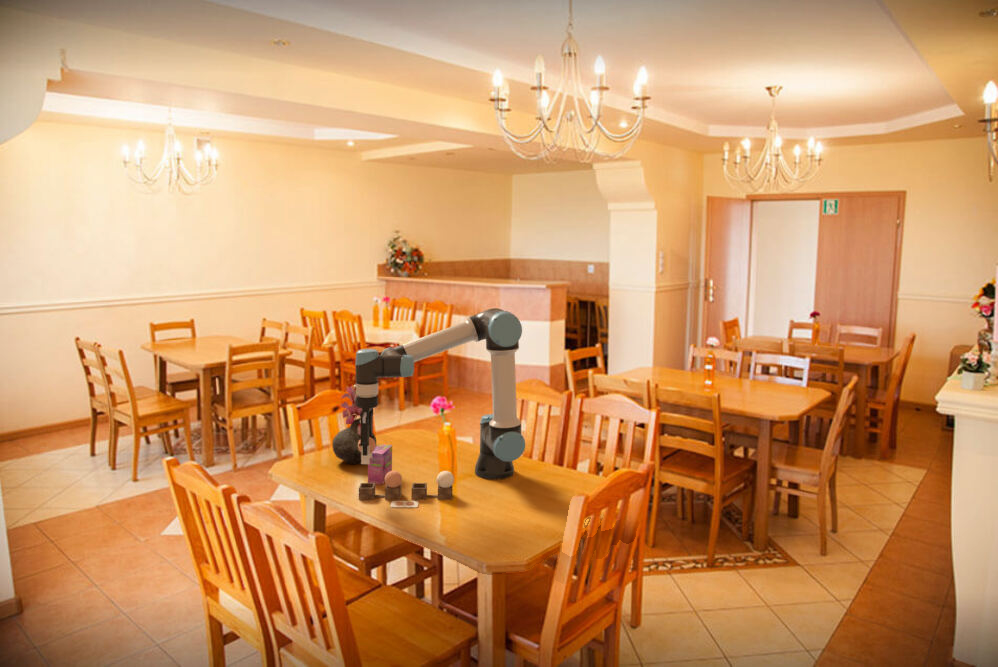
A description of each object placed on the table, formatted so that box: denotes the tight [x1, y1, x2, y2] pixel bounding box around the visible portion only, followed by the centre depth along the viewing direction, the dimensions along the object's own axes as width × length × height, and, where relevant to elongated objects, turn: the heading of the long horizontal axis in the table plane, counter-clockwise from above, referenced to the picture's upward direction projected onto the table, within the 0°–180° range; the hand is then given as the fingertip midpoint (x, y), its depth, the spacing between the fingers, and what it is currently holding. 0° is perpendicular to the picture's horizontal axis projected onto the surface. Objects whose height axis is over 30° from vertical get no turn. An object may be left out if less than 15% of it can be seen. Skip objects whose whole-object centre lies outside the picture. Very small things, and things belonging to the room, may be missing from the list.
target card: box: [390, 500, 419, 509], centre depth 221 cm, size 9×5×1 cm, turn 93°
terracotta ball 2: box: [384, 470, 403, 488], centre depth 227 cm, size 6×6×6 cm
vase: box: [332, 386, 377, 465], centre depth 260 cm, size 17×17×30 cm
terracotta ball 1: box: [358, 437, 377, 453], centre depth 225 cm, size 6×6×6 cm
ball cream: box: [436, 470, 455, 488], centre depth 228 cm, size 6×6×6 cm
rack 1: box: [358, 482, 402, 501], centre depth 227 cm, size 14×5×4 cm, turn 93°
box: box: [367, 443, 393, 485], centre depth 243 cm, size 10×6×12 cm, turn 168°
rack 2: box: [411, 482, 453, 501], centre depth 228 cm, size 14×5×4 cm, turn 93°
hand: (366, 460), depth 225 cm, fingers closed on terracotta ball 1, 6 cm apart
